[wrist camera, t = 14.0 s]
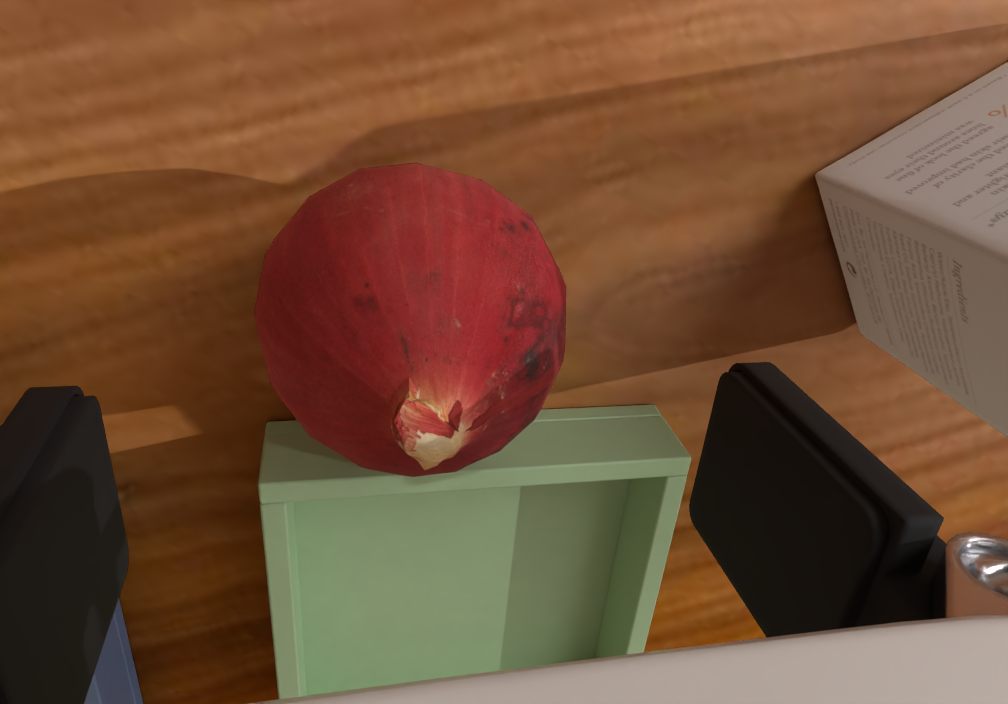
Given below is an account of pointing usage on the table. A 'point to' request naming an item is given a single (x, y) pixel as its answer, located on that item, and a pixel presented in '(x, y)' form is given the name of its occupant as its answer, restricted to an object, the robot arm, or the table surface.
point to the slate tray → (115, 668)
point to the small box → (933, 243)
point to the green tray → (468, 552)
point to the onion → (411, 319)
